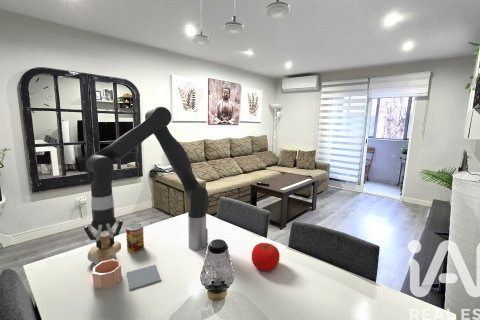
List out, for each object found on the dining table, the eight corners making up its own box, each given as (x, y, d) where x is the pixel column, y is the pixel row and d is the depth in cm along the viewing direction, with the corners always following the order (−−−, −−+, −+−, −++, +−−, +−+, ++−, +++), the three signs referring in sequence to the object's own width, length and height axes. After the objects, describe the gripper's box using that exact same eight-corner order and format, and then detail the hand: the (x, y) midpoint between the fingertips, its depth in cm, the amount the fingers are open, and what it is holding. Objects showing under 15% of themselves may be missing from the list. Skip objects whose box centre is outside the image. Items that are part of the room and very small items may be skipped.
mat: (155, 265, 108) (155, 264, 108) (161, 281, 98) (161, 279, 98) (126, 273, 102) (126, 272, 102) (129, 290, 92) (129, 289, 92)
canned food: (133, 254, 117) (132, 231, 115) (124, 249, 121) (122, 227, 119) (147, 247, 123) (146, 225, 121) (137, 243, 127) (136, 222, 126)
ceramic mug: (99, 269, 104) (98, 253, 103) (87, 264, 108) (86, 248, 107) (120, 258, 114) (120, 243, 113) (109, 253, 117) (108, 239, 116)
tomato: (253, 256, 118) (254, 236, 116) (279, 259, 115) (280, 239, 114) (248, 273, 104) (249, 251, 102) (278, 278, 101) (279, 255, 100)
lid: (120, 241, 103) (119, 227, 102) (122, 253, 94) (121, 238, 93) (90, 247, 98) (89, 233, 97) (89, 260, 88) (88, 245, 87)
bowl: (120, 269, 104) (119, 257, 104) (122, 283, 96) (121, 269, 95) (94, 276, 99) (93, 263, 99) (93, 291, 91) (92, 277, 90)
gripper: (122, 200, 100) (124, 239, 102) (81, 205, 92) (85, 246, 95) (123, 206, 93) (125, 247, 96) (80, 212, 86) (84, 256, 89)
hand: (105, 246), depth 95 cm, fingers closed on lid, 3 cm apart
